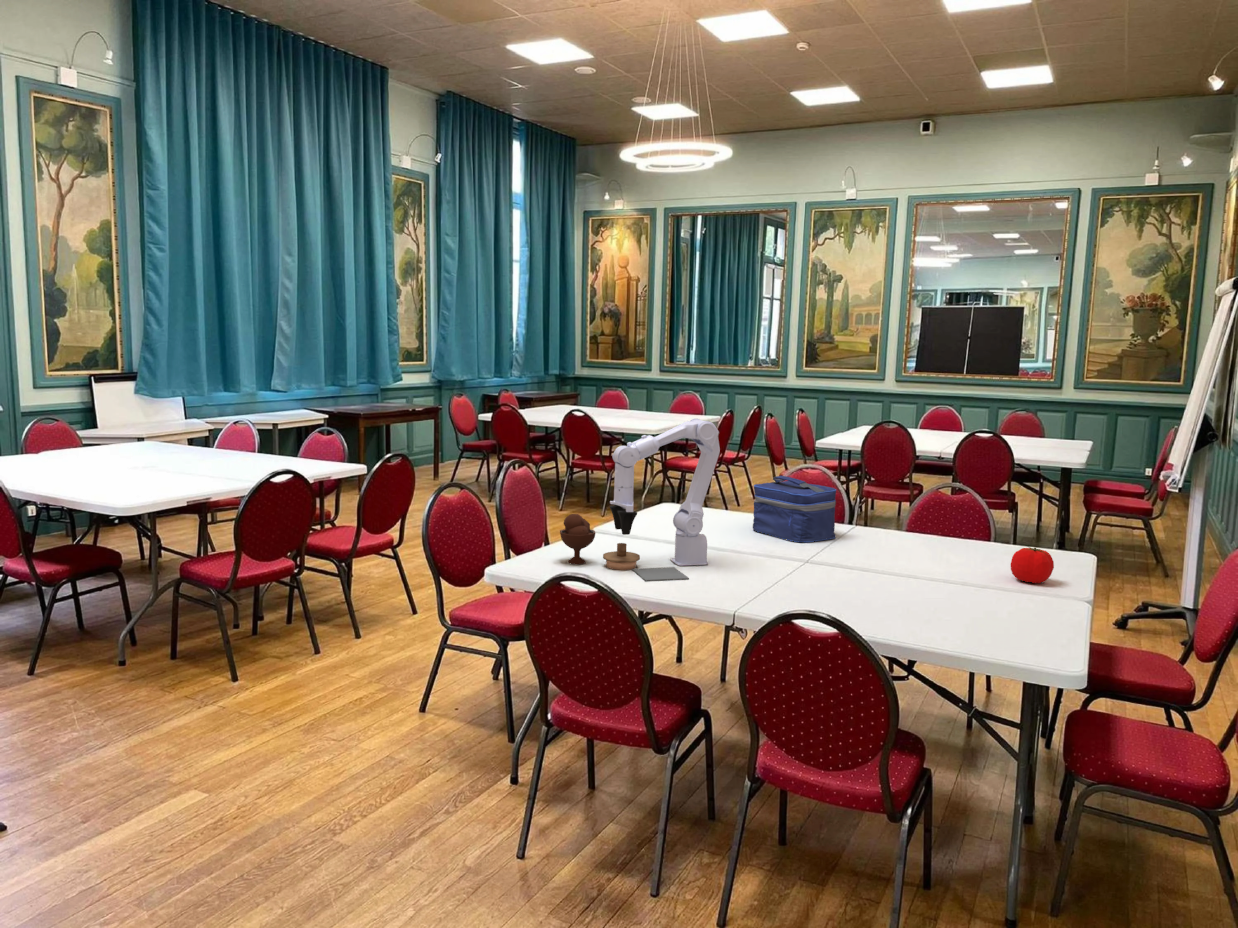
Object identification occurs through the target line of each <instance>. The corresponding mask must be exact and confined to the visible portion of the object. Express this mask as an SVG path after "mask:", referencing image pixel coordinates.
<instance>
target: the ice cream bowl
mask: <svg viewBox="0 0 1238 928" xmlns="http://www.w3.org/2000/svg"><path fill="white" fill-rule="evenodd" d="M590 524H591V523H590V522H588V521H587V520H586V519H585V518H583V516H581V515H580V514H579V513H571V514H568V515H567V516H566V517H565V518H564V521H563V526H564V527H565V528H564V529H560V530H559V534H560V539H561V541H562V543H564V544H565V546H567V547H568V548H570V549H572V550H573V552H574V554H573V557H571V558H569V559H568V560H567V563H568V564H570V563H571V565H576V566H577V565H584V564H586V563H587V562H586V559H585V558H583V557H581V553H580V552H581V550H582V549H585V548H587V547H588V546H590V545H591V544H592V543H593V542H594V541H595V538H596V531H595V530H594V529H591V525H590Z"/></svg>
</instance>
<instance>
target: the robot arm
mask: <svg viewBox="0 0 1238 928" xmlns="http://www.w3.org/2000/svg"><path fill="white" fill-rule="evenodd" d="M719 434H720V431H719V430H718V428H717V426H716V425H715V423H713V422H712V421H709V420H702V419H700V418H691V420H686V421H684V422H682V423H680V424H678V425H676V426H674V427H672V428H671V429H668V430H666V431H664V432H662V433H660V434H658V435H656V436H653V435H650V434H648V435H647V434H643V435H641V438H638V439H637V440H635V441H632V442H631V441H629V442H627V443H626V445H620V446H618V447H616V448H615V450H614V451H613V454H612V460H613V462H614V484H613V485H614V487H613V488H614V489H613V500H610V501H609V504H610V505H609V509H610V512H611V514H612V517H613V524H614V528H615V530H621V534H622V536H624V535H625V536H626V535H630V534H631V531H632V527H633V523H634V521H635V519H636V517H637V515H638V512H637V511H635V510H634V503H635V502H634V484H635V482H634V481H635V465H636V464H637V462H639V461H641V460H643V459H645V458H648V457H650V456H652V455H655V454H656V453H658V451H659V449H660V447H662V446H665V445H668V444H670V443H673V442H675V441H678V440H681V439H691V440H692V441H693V442H694V443H695V444H696V445H697V448H699V451H700V455H699V458H698V461H697V465H696V467H695V470H694V474H693V477H692V479H691V483H690V486H689V489H688V492H687V494H686V498H685V501H683V503H681V504H680V507H679V509H678V510H677V512H676V513H675V514H674V515H673V518H672V523H673V526H674V527H675V528H676V530H675V537H674V538H675V540H674V557H672V558H670V561H671V562H672V563H674V564H676V566H678V567H681V566H703V565H704V566H705V565H708V562H707V561H708V539H707V536H706V535H705V534H704V533H701V532H702V531H703V527H704V522H703V518H704V513H705V512H704V510H703V505H704V501H705V499H706V496H707V493H708V489H709V486H710V483H711V481H712V477H713V475H714V472H715V468H716V465H717V463H718V459H719V457H720V453H721V452H720V450H721V448H720V441H719Z"/></svg>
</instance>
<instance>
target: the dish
mask: <svg viewBox="0 0 1238 928" xmlns="http://www.w3.org/2000/svg"><path fill="white" fill-rule="evenodd" d="M605 561H606V563H605V567H606V568H608V569H611V570H617V571H629V570H632V569H637V561H635V562H625V563H622V562H611V561H607V560H605Z"/></svg>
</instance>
